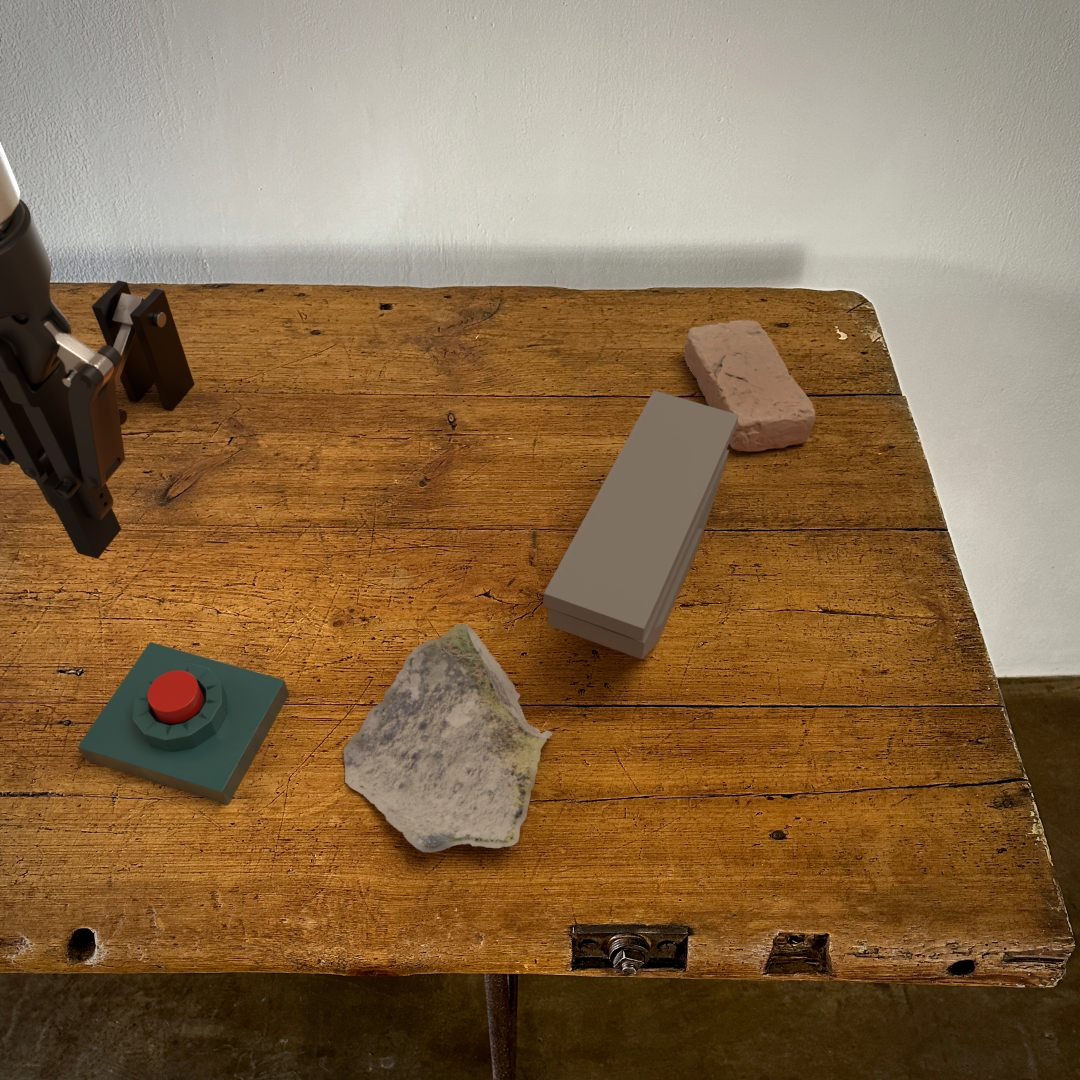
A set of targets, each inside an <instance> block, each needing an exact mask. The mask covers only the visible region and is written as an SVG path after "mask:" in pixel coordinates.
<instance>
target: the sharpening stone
mask: <svg viewBox="0 0 1080 1080" xmlns="http://www.w3.org/2000/svg"><path fill="white" fill-rule="evenodd" d="M738 417H739V415H738V414H734V413H731V412H727V411H724V410H721V409H717V408H714V407H710V406H709V405H708V404H707V405H706V404H703V403H699V402H696V401H693V400H690V399H686V398H682V397H679V396H675V395H673V394H669V393H665V392H662V391H659V390H653V391H652V393H651V395H650V397H649V399H648V400H647V402H646V404H645V406H644V408H643V409H642V411H641V413H640V415H639V417H638V418H637V420H636V422H635V424H634V426H633V428H632V430H631V431H630V434H629V436H628V437H627V439H626V441H625V443H624V444H623V446H622V448H621V450H620V452H619V453H618V456H617V457H616V459H615V461H614V463H613V465H612V466H611V468H610V470H609V472H608V474H607V476H606V478H605V479H604V481H603V483H602V485H601V487H600V489H599V490H598V492H597V494H596V496H595V498H594V499H593V501H592V504H591V505H590V507H589V509H588V511H587V513H586V515H585V517H584V518H583V520H582V521H581V524H580V526H579V528H578V529H577V532H576V533H575V535H574V537H573V538H572V541H571V542H570V544H569V546H568V548H567V550H566V552H565V553H564V554H563V557H562V559H561V561H560V563H559V564H558V566H557V568H556V570H555V572H554V573H553V576H552V578H551V579H550V581H549V583H548V585H547V586H546V588H545V590H544V592H543V601H542V602H543V603H542V604H543V607H546V608H548V609H547V610H548V612H547V613H548V614H547V626H549V627H551V628H554V629H556V630H560V631H563V632H565V633H568V634H570V635H574V636H577V637H580V638H582V639H585V640H587V641H590V642H592V643H596V644H598V645H600V646H604V647H607V648H609V649H612V650H614V651H617V652H619V653H620V652H621V653H624V654H626V655H629V656H631V657H634V658H637V659H640V660H643V659H644V658H645V657H646V656H647V655H648V654H649V653H650V652H651V651H652V650H653V649H654V648H655V647H656V646H657V645H658V644H659V642H660V640H661V637H662V634H663V632H664V630H665V628H666V625H667V623H668V621H669V618H670V616H671V614H672V611H673V609H674V606H675V604H676V602H677V599H678V597H679V594H680V592H681V590H682V587H683V586H684V583H685V581H686V578H687V576H688V573H689V571H690V569H691V567H692V564H693V562H694V559H695V557H696V556H697V552H698V551H699V547H700V544H701V541H702V538H703V535H704V533H705V532H704V531H705V529H706V526H707V523H708V521H709V517H710V514H711V511H712V507H713V505H714V501H715V499H716V496H717V492H718V490H719V487H720V484H721V481H722V478H723V475H724V472H725V469H726V465H727V461H728V456H729V453H730V450H729V449H728V447H729V446H730V443H729V442H730V440H731V438H732V435H733V433H734V431H735V429H736V425H737V421H738Z"/></svg>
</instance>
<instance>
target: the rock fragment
mask: <svg viewBox="0 0 1080 1080" xmlns="http://www.w3.org/2000/svg"><path fill="white" fill-rule="evenodd" d="M520 697H521V694H520V693H519V692H517V689H516V686H515V685H514V683H513V682H512V681H511V680H510V678H509V676H508V673H506V672H505V670H503V669H502V667H501V664H500V663H499V662H498V661H497V660H496V658H495V657H494V655H492V654H491V653H490V650H489V649H488V648H487V645H486V644H484V643H483V641H482V640H481V637H479V635H478V634H477V633H476V632H475V631H474V630H473V629H472V627H470V626H469V625H468V624H466V623H458V624H456V625H454V626H452V628H451V629H449V631H447V632H446V633H445V634H442V636H441V637H439V638H436V639H435V638H433V639H429V640H427V641H425V642H423V643H421V644H419V645H418V646H416V647H415V648H414V649H413V650H412V652H411V653H410V654H409V655H407V656H406V659H405V660H404V662H403V666H402V669H401V670H399V671H398V673H397V674H396V677H395V681H393V682H392V683H391V685H390V687H389V688H388V689H386V690H385V692H384V696H383V700H382V701H381V702H380V703H378V704H376V705H375V706H374V707H373V708H371V709H370V710H369V712H368V713H367V716H366V718H365V719H364V721H363V722H362V725H361V727H360V730H359V731H358V732H355V733H354V735H352V736H350V737H351V738H350V739H349V741H348V743H347V744H346V746H344V748H343V762H344V782H345V784H347V786H348V787H349V788H351V789H352V790H354V791H356V792H358V793H359V794H361V795H362V796H363V797H365V798H366V799H367V800H368V801H369V802H370V804H373V805H374V807H375V808H376V809H377V810H378V811H379V812H381V814H383V815H384V817H385V820H386V821H387V822H388V823H389V824H390V826H392V827H394V828H395V829H396V830H397V831H398V832H400V833H402V835H403V837H404V838H405V839H406V841H407V842H408V843H409V844H411V845H412V846H413V847H414V848H415V849H417V850H419V851H420V852H423V853H436V852H442V851H444V850H445V851H446V849H450V848H451V847H455V846H458V845H471V847H483V848H487V849H488V848H492V849H500V848H504V847H505V848H507V847H512V846H514V845H516V844H517V843H518V842H519V840H520V836H521V834H520V832H521V826H522V825H523V823H524V822H525V820H526V818H527V816H528V809H529V805H530V801H531V797H532V792H531V791H532V790H533V789H534V787H535V784H536V776H537V773H538V768H539V767H538V764H539V762H541V754H542V753H541V750H542V748H543V747H544V745H545V743H547V742H548V740H549V739H551V737H552V736H553V733H552V732H551V731H550V730H548V729H547V730H545V731H543V732H542V733H541V730H540V729H539V728H538V727H536V726H535V727H534V726H532V725H531V724H530V723H529V722H528V721H527V719H526V718H525V714H524V713H523V709H522V706H521V705H520V703H519V699H520Z"/></svg>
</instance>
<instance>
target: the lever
mask: <svg viewBox="0 0 1080 1080" xmlns="http://www.w3.org/2000/svg"><path fill="white" fill-rule="evenodd" d="M144 299H145V298H144V297H143V296H138V295H133V294H131V295H129V294H125V293H122V294H121V296H120V299H119V302H118V305H117V308H116V310H115V313H114V316H113V319H112V320H113V321H114V322H116V323H117V324H118V325H120V326H121V327H120V330H119V333H118V335H117V338H116V341H115V344H114V347H113V348H115V349H116V350H117V351H118V352H119V353H120V354H121V357H122V362H121V365H120V367H119V369H118V371H117V374H116V376H115V385H116V388H118V384H119V382H120V376H121V373H122V370H123V368H124V365H125V362H126V359H127V356H128V353H129V351H130V348H131V345H132V342H133V339H134V336H135V334H136V331H135V328H134V325H133V323H132V320H131V317H130V314H131V313H132V312H133V311H134V310H135V309H136V308H137V307H138V306H139V305H140V303H141V302H142V301H143V300H144ZM127 413H128V412H127V411H126V410H125V409H122V408H119V416H120V424H121V426H123V425H125V424H126V422H127V419H128V414H127Z"/></svg>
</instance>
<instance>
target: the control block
mask: <svg viewBox="0 0 1080 1080" xmlns="http://www.w3.org/2000/svg"><path fill="white" fill-rule="evenodd" d="M171 671H185V672H188V673H190V674H192V675H193V676H194V677H195V679H196V680H197V683H198V685H199V687H200V689H201V691H202V694H203V703H202V706H201V708H200V710H199V711H198V712H197V714H196V715H194V716H193V717H192V718H191V719H189V720H187V721H185V722H182V723H177V724H170V723H166V722H163V721H161V720H160V719H159V718H158V717H157V716H156V714H155V713H154V711H153V709H152V707H151V705H150V703H149V701H148V691H149V688H150V686H151V685H152V683H153V682H154V681H155V680H156V679H157V678H158V677H160V676H161V675H163V674H165V673H167V672H171ZM289 696H290V692H289V689H288V686H287V683H286V680H285V679H283V678H279V677H276V676H271V675H268V674H265V673H261V672H258V671H254V670H251V669H248V668H244V667H240V666H236V665H233V664H229V663H226V662H222V661H219V660H215V659H211V658H208V657H205V656H202V655H197V654H194V653H191V652H187V651H184V650H180V649H177V648H174V647H169V646H166V645H162V644H159V643H155V642H151V641H150V642H149V643H148V644H147V645H146V647H145V648H144V650H143V651H142V652H141V654H140V656H139V657H138V659H136V661H135V663H134V664H133V665H132V667H131V669H130V670H129V672H128V673H127V674H126V676H124V678H123V680H122V681H121V683H120V684H119V685H118V687H117V689H116V691H115V692H114V693H113V695H112V696H111V697H110V699H109V700H108V702H106V703H107V704H106V705H105V706H104V708H103V709H102V710H101V712H100V714H99V715H98V716H97V718H96V719H95V721H94V722H93V724H92V725H91V727H90V728H89V730H88V731H87V732H86V734H85V735H84V737H83V739H82V740H81V741H80V743H79V744H78V746H77V749H78V750H79V752H80V754H81V755H82V756H83V758H84V759H85V761H86V762H89V763H92V764H96V765H98V766H101V767H105V768H108V769H111V770H114V771H116V772H120V773H123V774H126V775H129V776H133V777H136V778H140V779H142V780H146V781H149V782H152V783H156V784H159V785H162V786H166V787H169V788H172V789H175V790H178V791H181V792H184V793H187V794H191V795H194V796H198V797H201V798H204V799H206V800H210V801H213V802H216V803H219V804H223V805H226V806H229V805H230V803H231V802H232V800H233V798H234V796H235V794H236V792H237V790H238V789H239V787H240V785H241V784H242V782H243V780H244V778H245V776H246V775H247V772H248V770H249V768H250V767H251V765H252V763H253V761H254V760H255V758H256V756H257V754H258V752H259V750H260V749H261V747H262V745H263V743H264V742H265V739H266V737H267V736H268V734H269V732H270V731H271V729H272V728H273V725H274V724H275V721H276V720H277V718H278V716H279V715H280V712H281V711H282V709H283V708H284V705H285V704H286V701H287V699H288V698H289Z"/></svg>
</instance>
